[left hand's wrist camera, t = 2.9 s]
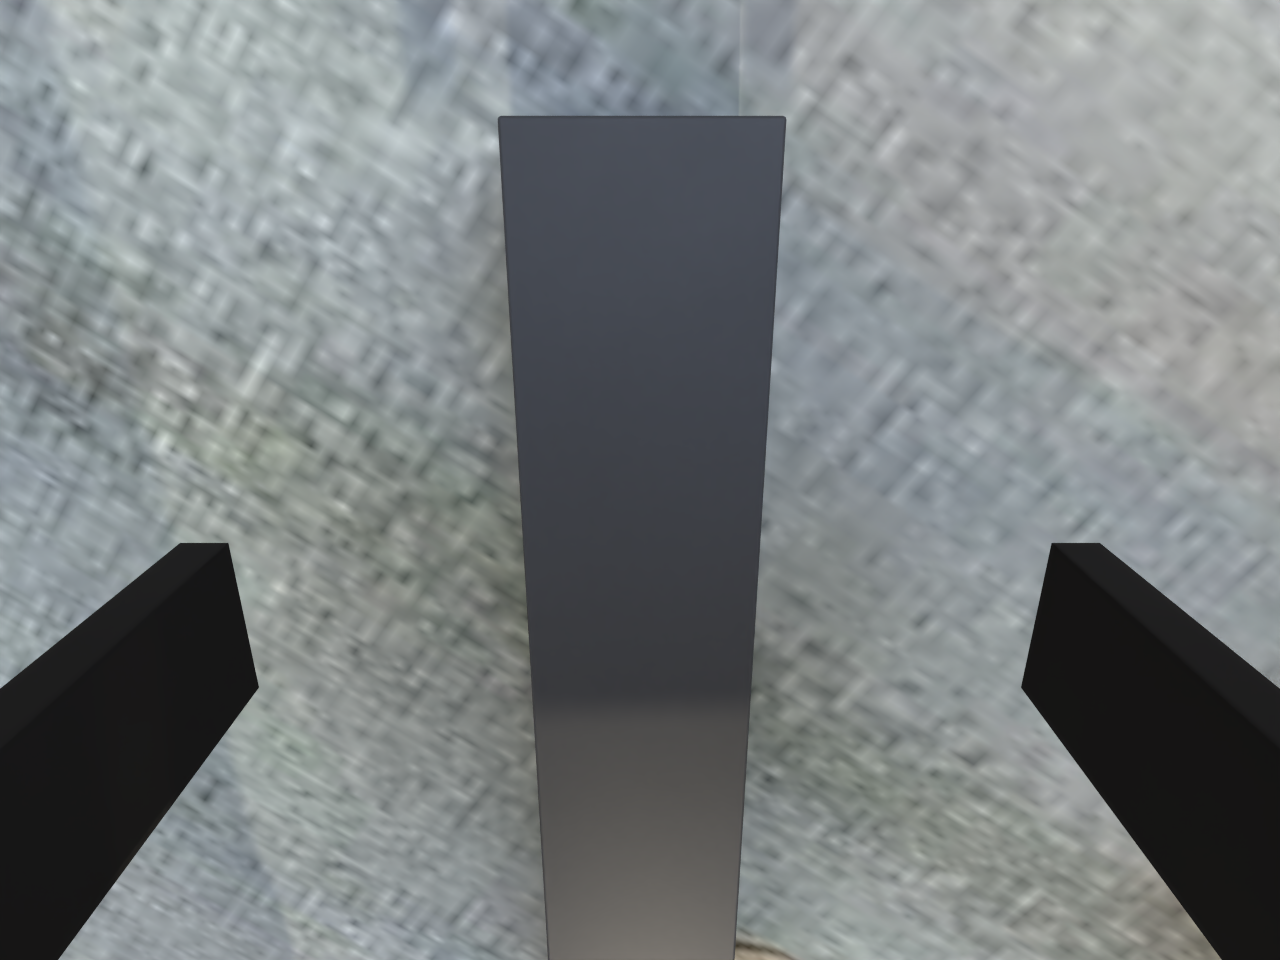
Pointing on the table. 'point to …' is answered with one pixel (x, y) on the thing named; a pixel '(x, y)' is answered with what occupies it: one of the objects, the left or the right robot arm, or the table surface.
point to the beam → (641, 507)
